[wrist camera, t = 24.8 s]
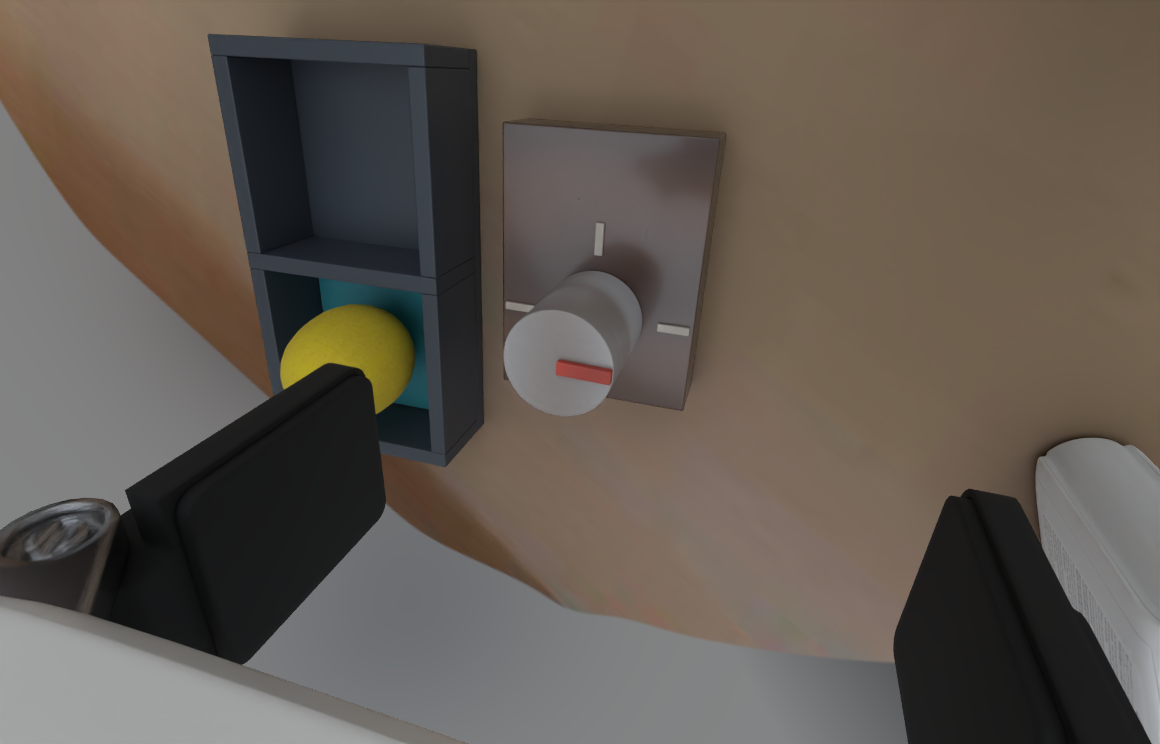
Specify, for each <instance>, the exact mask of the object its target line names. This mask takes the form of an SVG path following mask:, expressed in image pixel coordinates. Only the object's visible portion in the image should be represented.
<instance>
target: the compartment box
mask: <svg viewBox="0 0 1160 744" xmlns="http://www.w3.org/2000/svg"><path fill="white" fill-rule="evenodd" d="M208 40H209V46H210V51H211V55H212V56H211V57H212V63H213V68H214V74H215V79H216V85H217V90H218V95H219V101H220V106H221V112H222V117H223V123H224V128H225V134H226V139H227V145H228V150H229V156H230V161H231V167H232V172H233V178H234V183H235V189H236V194H237V199H238V205H239V210H240V216H241V221H242V227H243V232H244V238H245V243H246V249H247V254H248V259H249V265H250V268H251V269H250V270H251V276H252V281H253V287H254V292H255V298H256V303H257V309H258V314H259V320H260V325H261V331H262V336H263V341H264V347H265V352H266V358H267V363H268V369H269V374H270V380H271V385H272V391H273V396H275V395H277V394H278V393H280V392H281V391H283V390H284V389H283V386H282V382H281V377H280V369H281V360H282V357H283V354H284V351H285V348H286V347H287V345H288V343H289V342H290V341H291V340H292V338H293V337H294V336H295V334H296V333H297V332H298V331H299V330H300V329H301V328H302V327H303V326H304V325H305V324H306V323H308V322H309V321H311V320H312V319H314V318H315V317H317V316H318V315H320V314H321V313H323V312H325V311H327V310H330V309H333V308H336V307H340V306H344V305H349V304H364V305H371V306H375V307H378V308H381V309H384V310H386V311H387V312H389V313H391V314H392V315H394V316H395V317H396V318H397V319H398V320H399V321H401V322H402V323H403V325H404V326H405V327H406V329H407V330H408V332H409V334H410V336H411V338H412V340H413V344H414V349H415V367H414V370H413V374H412V377H411V380H410V382H409V383H408V385H407V386H406V388H405V389H404V391H403V392H402V394H401V395H400V396H399V397H398V398H397V399H396V400H395V401H394V402H393V403H392V404H390V405H389V406H388V407H386V408H385V409H384V410H382V411H381V412H379V413H378V414H376V420H377V429H378V437H379V446H380V453H382V454H387V455H391V456H396V457H401V458H405V459H410V460H414V461H419V462H424V463H428V464H433V465H437V466H442V467H446V466H447V465H448V464H449V463H450V462H451V460H452V459H453V458H454V457H455V456H456V455H457V454H458V452H459V451H460V450H461V449H462V448H463V447H464V446H465V444H466V443H467V442H468V441H469V440H470V439H471V438H472V436H473V435H474V434H475V433H476V432H477V430H479V428H480V427H481V426H482V425H483V424H484V415H483V365H482V314H481V264H480V213H479V163H478V113H477V62H476V50H474V49H465V48H456V47H447V46H438V45H429V44H415V43H393V42H372V41H350V40H328V39H307V38H285V37H264V36H242V35H220V34H208Z"/></svg>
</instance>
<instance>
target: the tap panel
mask: <svg viewBox="0 0 1160 744" xmlns="http://www.w3.org/2000/svg"><path fill="white" fill-rule="evenodd" d="M725 139H726V133H720V132H707V131H693V130H680V129H666V128H652V127H639V126H625V125H612V124H598V123H585V122H571V121H557V120H544V119H530V118H528V119H520V120H513V121H506V122H503V298H504V346H505V342H506V339H507V336H508V334H509V332H510V331H511V329H512V328H513V326H514V325H515V324H516V323H517V322H518V321H519V320H520V319H521V318H523V317H524V316H525V315H526V314H527V313H528V312H529V311H530V310H531V309H532V308H534V307H535V306H536V305H537V304H538V303H539V302H540V301H541V300H542V299H543V298H545V297H546V296H547V295H548V294H549V293H550V292H551V291H552V290H553V289H554V288H556V287H557V286H558V285H559V284H560V283H561V282H562V281H563V280H564V279H566V278H567V277H569V276H571V275H573V274H575V273H578V272H583V271H600V272H604V273H607V274H610V275H612V276H614V277H616V278H618V279H619V280H621V281H622V282H623V283H625V284H626V285H627V286H628V287H629V288H630V289H631V291H632V292H633V294H634V295H635V297H636V298H637V300H638V303H639V305H640V308H641V313H642V328H641V333H640V336H639V338H638V340H637V342H636V344H635V346H634V348H633V350H632V351H631V353H630V355H629V357H628V359H627V360H626V362H625V364H624V366H623V368H622V369H621V371H620V373H619V375H618V377H617V378H616V380H615V382H614V384H613V386H612V387H611V389H610V391H609V393H608V395H607V396H606V397H607V398H612V399H618V400H624V401H629V402H635V403H640V404H646V405H652V406H657V407H663V408H669V409H674V410H680V411H683V410H684V406H685V403H686V399H687V396H688V393H689V389H690V386H691V381H692V374H693V367H694V360H695V352H696V345H697V338H698V331H699V324H700V317H701V310H702V302H703V295H704V288H705V281H706V274H707V267H708V260H709V253H710V245H711V238H712V231H713V224H714V217H715V210H716V203H717V196H718V188H719V181H720V174H721V167H722V160H723V153H724V146H725ZM504 379H505V380H509V378H508V376H507V373H506V370H505V366H504Z"/></svg>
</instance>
